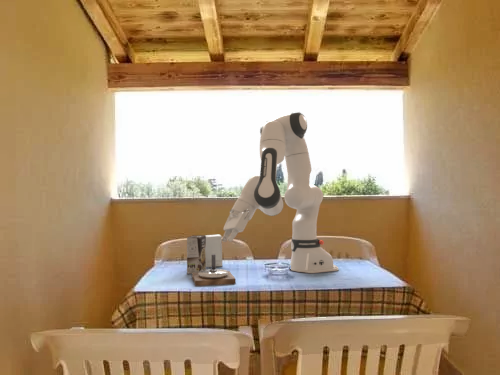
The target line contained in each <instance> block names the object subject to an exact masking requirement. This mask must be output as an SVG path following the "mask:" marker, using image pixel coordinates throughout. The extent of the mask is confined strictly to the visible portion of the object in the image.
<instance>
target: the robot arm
mask: <svg viewBox="0 0 500 375" xmlns="http://www.w3.org/2000/svg"><path fill="white" fill-rule="evenodd" d="M307 129H308V122H307V118H306V116H305V115H304V114H303V113H302V112H300V111H299V112H298V111H295V112H291V113H287V114H284V115H279V116H278V117H276V118H273V119H271V120H267V121H266V122H264V123H263V124H261V127H260V129H259V133H260V138H259V156H260V157H259V158H260V169H259V170H260V172H259V175H253V176H251V177H249V179H248V180H247V182H246V183H245V185H244V187H243V188H242V190H241V192H240V195H239V197H237V199H236V201H235V202H234V204H233V206H232V207H231V209H230V210H229V215H228V216H227V219H226V221H225V223H224V226H223V231H224V233H223V236H222V243H226V242H227V241H228V242H229V243H231V242H233V241H234V239H235V238H236V237H237V236H238V234H239V233H243V232H244V230H245V228H246V227H247V224H248V223H249V221H251V220H252V218H253V216H254V214H255V212H256V211H257V209H258V210H260V211H261V212H262V213H263V214H264V215H267V216H270V217H275V216H277V215H279V214H280V213H281V212H282V211H283V209H284V202H285V204H286V205H287V206H288V207H289V208H291V209H294V210H296V213H295V216H294V218H293V220H292V222H291V224H292V225H291V226H292V229H291V230H292V234H291V235H292V237H291V243H290V247H291V249H290V250H291V258H290V262H289V266H290V265H291V270H290V271H292V272H297V273H298V272H299V273H306V274H317V273H326V272H336V271H339V267H338V266H337V265H335V264H334V259H333V256H332V255H331V254H330V253H329V252H327V250H325V249H324V248H323V247H321V245H322V246H323V245H324V244H325V242H324V240H322V239H318V238H317V230H318V227H317V225H318V224H317V222H318V215H319V213H320V212H319V211H320V207H321V204H322V202H323V200H324V193H323V190H322V189H321V188H320V187H318V186H316V185H314V184H310V177H311V176H310V175H311V172H312V164H311V159H310V154H309V150H308V145H307V142H306V139H305V134H306V133H307ZM284 160H285V164H286V171H287V184H286V185H287V187H286V190H285V192H284V195H283V196H284V198H282V194H281V190H280V187H279V185H278V183H277V169H278V168H277V166H278V165H280V164H281V163H282V162H283V161H284ZM283 199H284V200H283Z"/></svg>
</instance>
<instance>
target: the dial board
mask: <svg viewBox="0 0 500 375" xmlns="http://www.w3.org/2000/svg"><path fill="white" fill-rule="evenodd" d="M227 271H228V276H227V277H224V278H218V279H206V278H201V277H199V273H192V274H191V279H192V281H193V283H194V286H195V287H198V286H200V287H202V286H214V285H215V286H217V285H220V286H221V285H233V284H236V282H237V281H236V278H235V276H234V275H233V273H231V272H230V270H227Z"/></svg>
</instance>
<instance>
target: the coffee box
mask: <svg viewBox="0 0 500 375" xmlns="http://www.w3.org/2000/svg"><path fill="white" fill-rule="evenodd" d="M206 269H207V267H206V236H204V235H201V234H200V235H190V236H188V237H186V274H191V275H192V273H199V271H201V270H206Z"/></svg>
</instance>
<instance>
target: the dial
mask: <svg viewBox="0 0 500 375" xmlns="http://www.w3.org/2000/svg"><path fill="white" fill-rule="evenodd" d="M228 271H229V270H227V269H222V268H217V266H216V254H212V267H211V268H206V270H201V271H199V277H201V278H206V279H218V278H224V277H227V276H228Z"/></svg>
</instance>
